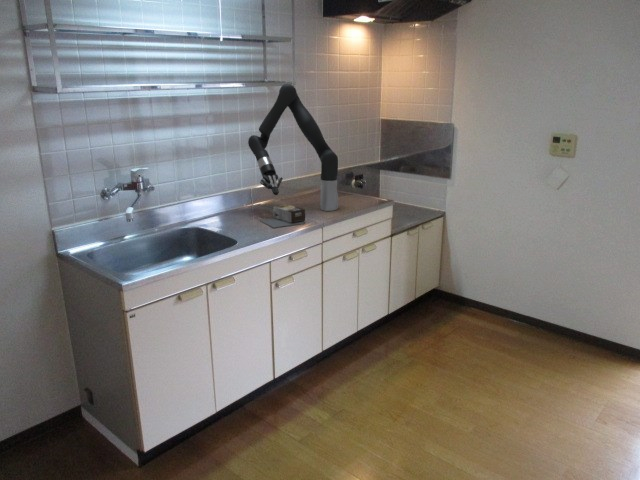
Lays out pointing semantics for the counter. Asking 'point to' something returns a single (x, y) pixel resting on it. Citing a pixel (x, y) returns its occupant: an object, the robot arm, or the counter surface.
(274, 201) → the counter surface
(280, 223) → the rubber mat
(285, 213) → the coffee box
